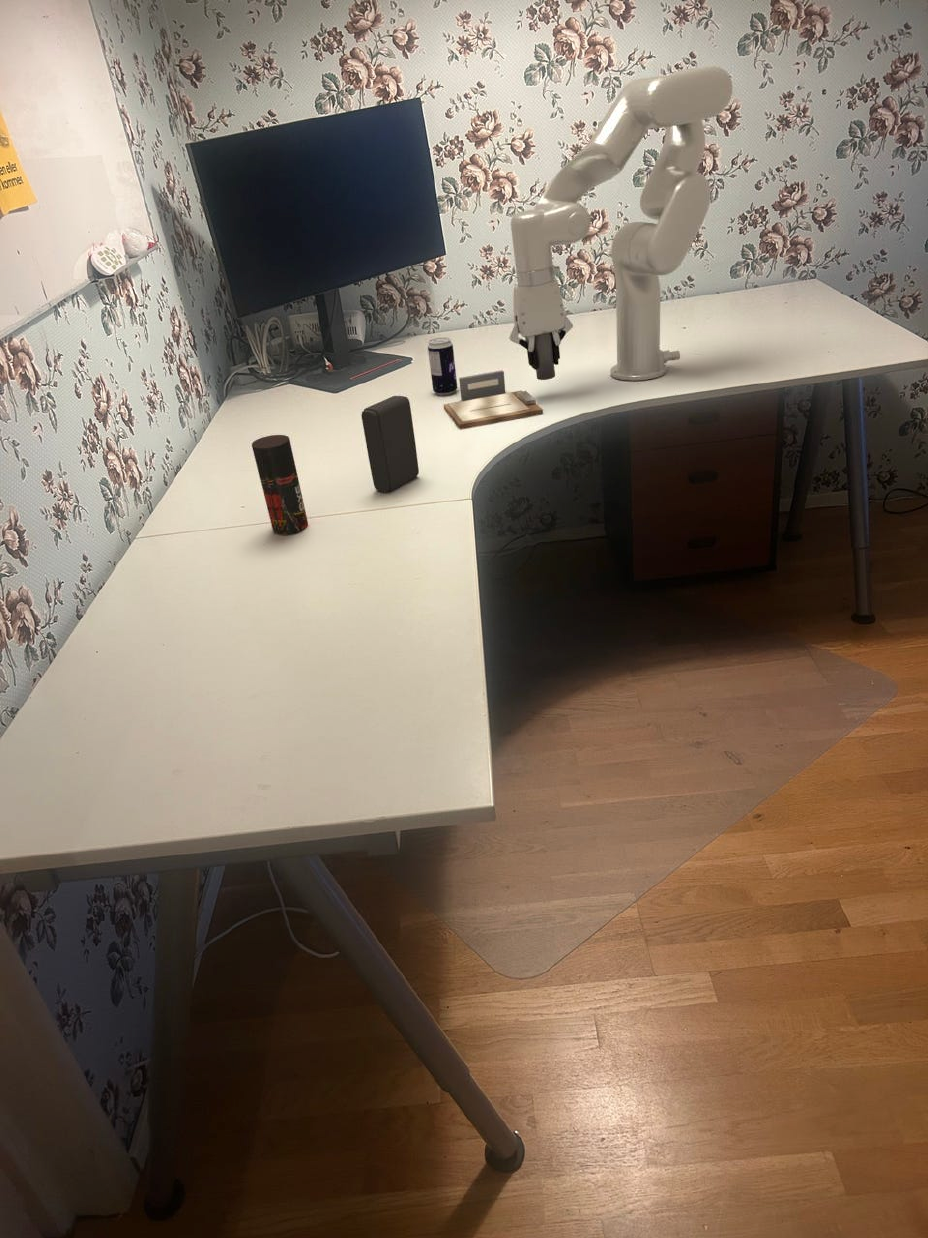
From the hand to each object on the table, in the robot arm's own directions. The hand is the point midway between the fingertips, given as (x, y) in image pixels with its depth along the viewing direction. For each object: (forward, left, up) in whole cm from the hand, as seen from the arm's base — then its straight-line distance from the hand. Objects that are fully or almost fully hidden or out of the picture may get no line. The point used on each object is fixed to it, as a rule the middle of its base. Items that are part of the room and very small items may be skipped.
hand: (544, 364), depth 183 cm
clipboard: (+13, +3, -7) cm, 15 cm away
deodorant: (+59, +43, -7) cm, 74 cm away
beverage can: (+19, -16, -7) cm, 26 cm away
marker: (0, 0, -3) cm, 3 cm away
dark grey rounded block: (+39, +33, -7) cm, 52 cm away
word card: (+12, -8, -7) cm, 16 cm away
